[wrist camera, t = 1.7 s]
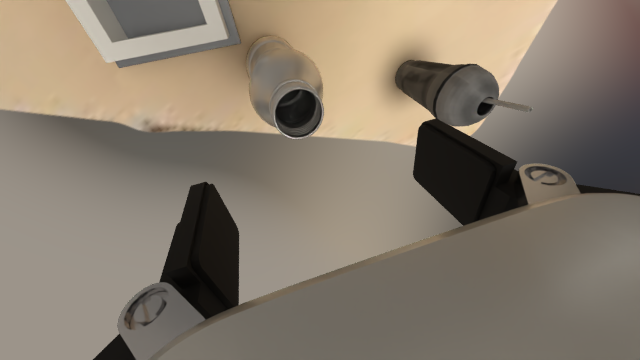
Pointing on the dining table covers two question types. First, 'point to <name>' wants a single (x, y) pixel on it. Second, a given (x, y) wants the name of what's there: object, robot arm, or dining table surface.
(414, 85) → the beverage cup
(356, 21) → the dining table surface
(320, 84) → the plastic bottle
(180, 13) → the socket
